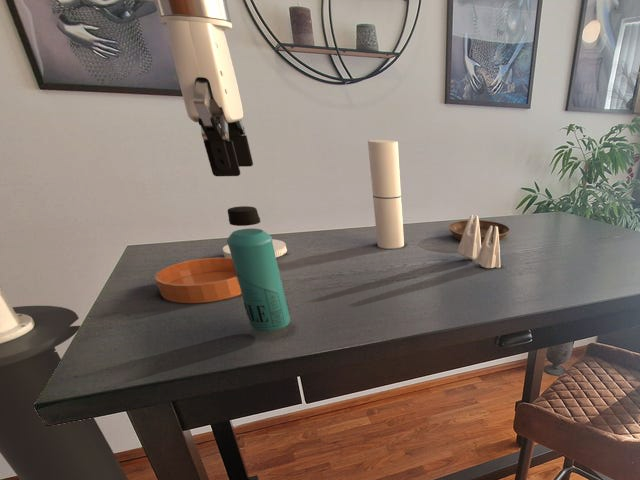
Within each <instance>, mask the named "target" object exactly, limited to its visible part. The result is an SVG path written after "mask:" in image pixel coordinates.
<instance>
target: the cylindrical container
mask: <svg viewBox="0 0 640 480" xmlns="http://www.w3.org/2000/svg"><path fill="white" fill-rule="evenodd" d="M367 148H368V157H369V170H370V179H371V180H370V181H371V189H372V199H373V201H372V202H373V211H374V222H375V232H376V234H375V235H376V242H377V243H376V244H377V247H378V248H381V249H385V250H386V249H387V250H393V249H400V248H403V247H404V246H405V239H404V238H405V237H404V223H403V221H404V220H403V206H402V205H403V204H402V190H401V189H402V188H401V177H400V176H401V172H400V158H399V157H400V156H399V155H400V154H399V142H398V140H393V139H370V140H367Z"/></svg>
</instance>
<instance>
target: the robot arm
mask: <svg viewBox="0 0 640 480" xmlns="http://www.w3.org/2000/svg"><path fill="white" fill-rule="evenodd" d="M154 4H155V7H156V10H157V14H158V17H159V21H160V23H161V25H163V26H167V32H168V33H167V34H168V39H169V45H170V50H171V53H172V59H173V63H174V66H175V71H176V75H177V79H178V83H179V87H180V90H181V94H182V99H183V102H184V107H185V110H186V114H187V117H188V118H189V119H190V120H191V121H192V122H194V123H198V125H199V126H200V132H201V133H200V134H201V138H202V140H203V145H204V148H205V151H206V155H207V158H208V163H209V165H210V166H209V167H210V169H211V173H212V175H213V176H214V177H239V176H241V169H240V167H252V166H254V161H253V157H252V154H251V153H252V152H251V149H250V144H249V141H248V136H247V134H246V130H245V126H244V123H243V121H242V119H243V118H244V109H243V104H242V98H241V93H240V90H239V85H238V81H237V77H236V73H235V68H234V64H233V61H232V56H231V53H230V51H231V50H230V48H229V45H228V42H227V37H226V34H225V31H232V30H234V28H233V24H232V20H231V15H230V11H229V6H228V1H227V0H154ZM12 307H13V306H12V305H11V302H10V301H9V298H8V297H7V295H6V294H5V292H4V291H3V288H2V287H1V286H0V344H1V343H5V342H8V341H10V340H13V339H16V338H18V337H20V336H22V335H24V334H26V333H28V332H29V331H30V330H31V329H32V328H33V327H34V325H35V323H34V321H33V319H32V318H31V317H30V316H28V315H25V314H17V313H15V311H14V310H13V308H12Z"/></svg>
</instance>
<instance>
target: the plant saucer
mask: <svg viewBox="0 0 640 480" xmlns="http://www.w3.org/2000/svg"><path fill="white" fill-rule="evenodd" d="M468 220H469V219H467V220H459V221H456V222H452V223H450V224H449V226H448V230H449V231H450V233H451V234H452V235H453V236H454V238H455V239H457V240H458V241H460V242H461V239H462V236H463V233H464V231H465V228H466V225H467V223H468ZM474 222H475V219H473V224H474ZM490 226H492V238H491V244H492V243H493V236H494V229H495V226H497V227H498V234H499V242H501V241H503V239H505V238H506V236H507V235H508V234H509V232H510V231H511V229H510V227H509V226H507V225H506V224H503V223H500V222H497V221H490V220H480V219H479V227H480V238H481V245H482V243H483V241H484V239H485V236H486V234H487V232H488V229H489V227H490Z"/></svg>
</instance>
